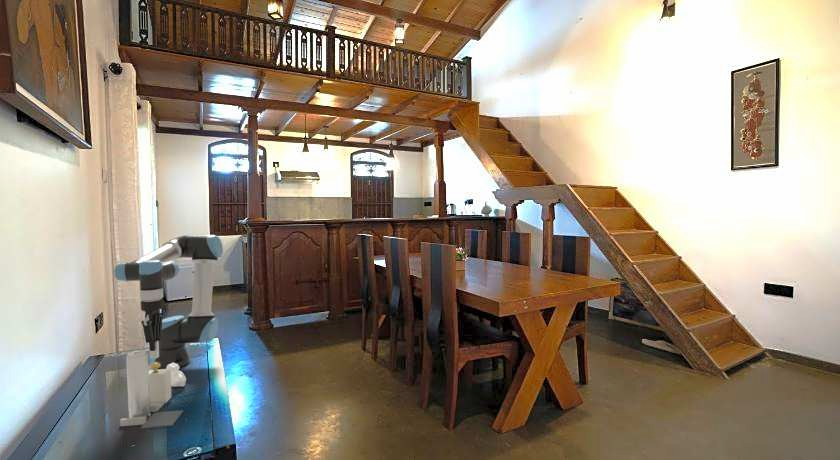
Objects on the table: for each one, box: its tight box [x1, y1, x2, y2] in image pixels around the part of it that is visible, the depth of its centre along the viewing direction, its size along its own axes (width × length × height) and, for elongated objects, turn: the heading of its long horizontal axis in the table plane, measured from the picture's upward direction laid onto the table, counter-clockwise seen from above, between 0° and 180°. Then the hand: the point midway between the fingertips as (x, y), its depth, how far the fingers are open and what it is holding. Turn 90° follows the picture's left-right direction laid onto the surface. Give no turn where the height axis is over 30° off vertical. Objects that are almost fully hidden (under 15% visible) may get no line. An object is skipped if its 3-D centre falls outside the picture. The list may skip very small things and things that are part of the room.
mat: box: [140, 409, 184, 430], centre depth 146 cm, size 10×10×1 cm
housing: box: [119, 369, 172, 427], centre depth 152 cm, size 20×9×12 cm, turn 10°
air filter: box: [125, 349, 152, 420], centre depth 146 cm, size 6×6×25 cm
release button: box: [149, 361, 160, 372], centre depth 159 cm, size 4×4×3 cm
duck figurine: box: [166, 363, 187, 388], centre depth 173 cm, size 12×8×11 cm
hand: (154, 357), depth 159 cm, fingers closed
